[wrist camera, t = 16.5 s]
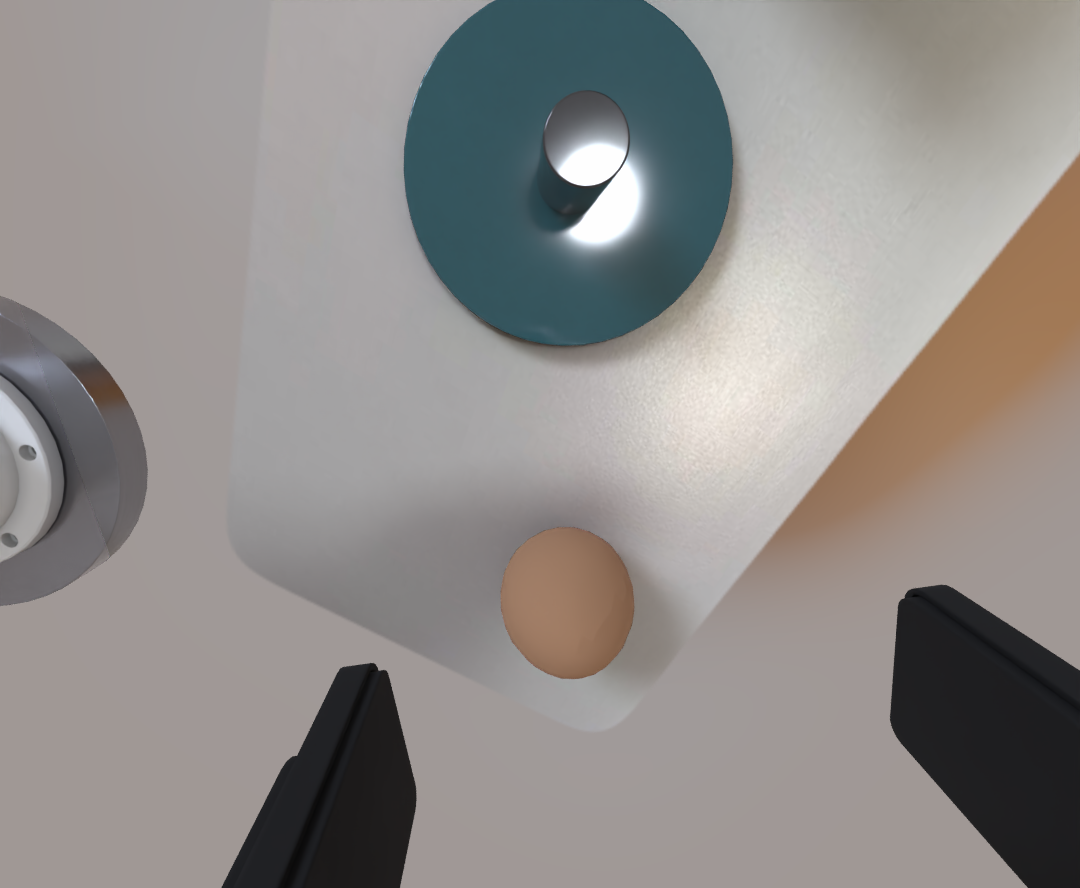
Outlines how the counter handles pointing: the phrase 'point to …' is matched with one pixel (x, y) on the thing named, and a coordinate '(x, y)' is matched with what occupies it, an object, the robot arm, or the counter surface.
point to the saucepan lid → (568, 166)
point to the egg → (567, 602)
